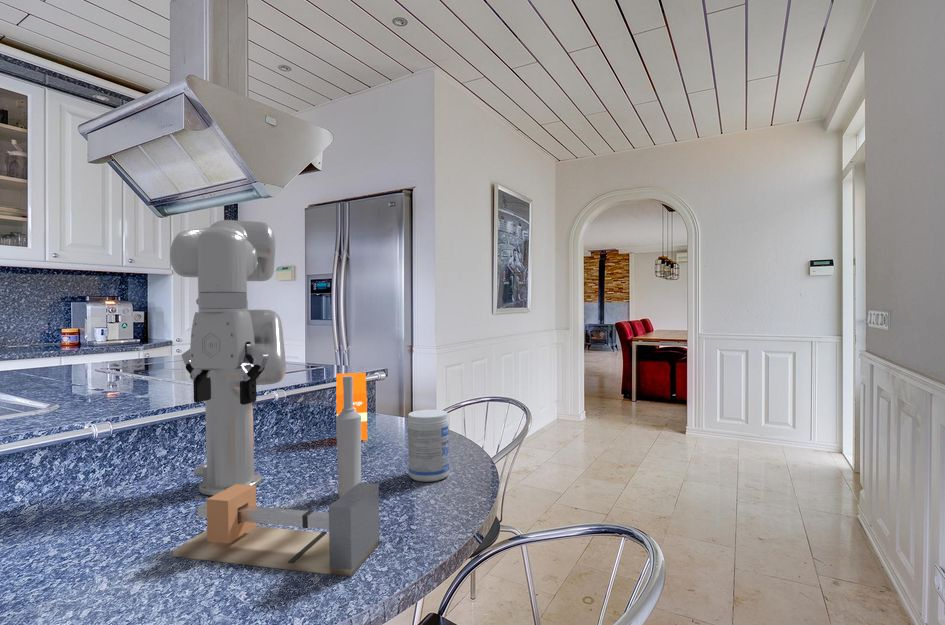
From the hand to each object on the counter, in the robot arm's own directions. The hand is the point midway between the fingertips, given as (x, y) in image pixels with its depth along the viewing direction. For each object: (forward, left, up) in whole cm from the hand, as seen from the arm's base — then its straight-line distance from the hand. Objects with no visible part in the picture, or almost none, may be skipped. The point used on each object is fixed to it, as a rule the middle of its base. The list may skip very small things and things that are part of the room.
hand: (225, 402), depth 84 cm
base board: (+12, -3, -23) cm, 27 cm away
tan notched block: (+3, -3, -21) cm, 22 cm away
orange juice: (-8, +62, -24) cm, 67 cm away
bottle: (+12, +21, -24) cm, 34 cm away
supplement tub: (+25, +35, -24) cm, 49 cm away
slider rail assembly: (+12, -3, -23) cm, 27 cm away
